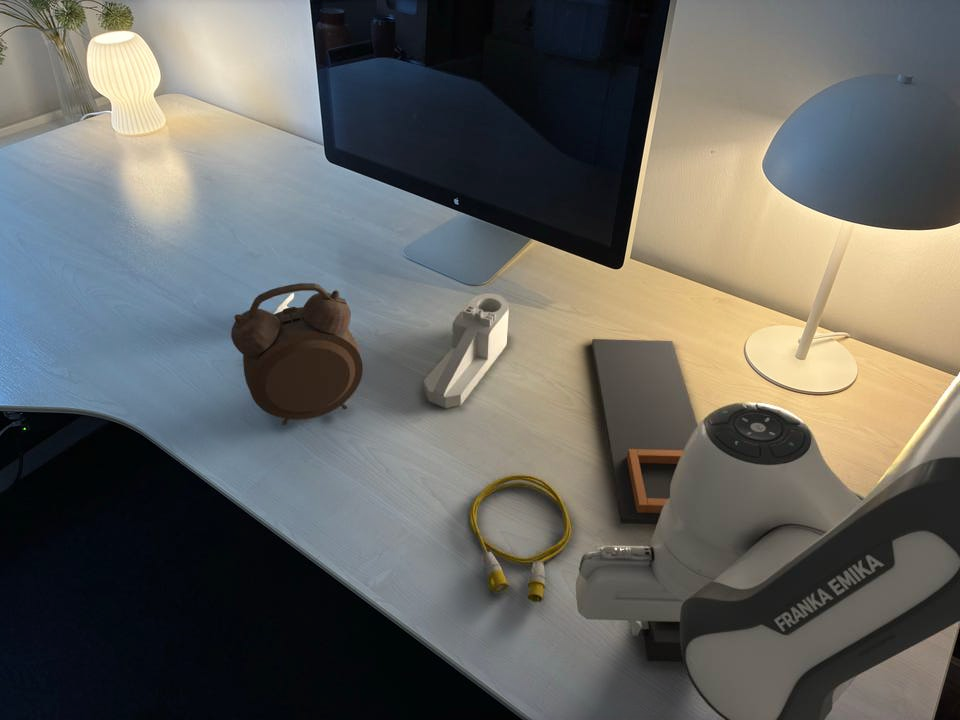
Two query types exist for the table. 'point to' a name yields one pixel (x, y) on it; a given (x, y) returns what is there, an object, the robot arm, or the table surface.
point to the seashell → (284, 304)
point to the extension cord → (493, 567)
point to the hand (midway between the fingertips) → (670, 629)
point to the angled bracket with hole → (469, 350)
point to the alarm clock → (299, 354)
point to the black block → (663, 642)
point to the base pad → (643, 421)
